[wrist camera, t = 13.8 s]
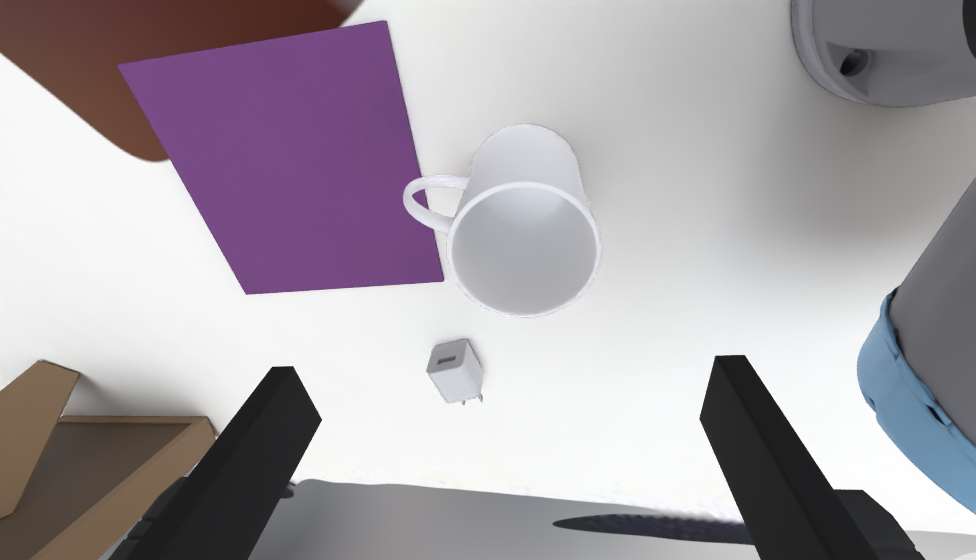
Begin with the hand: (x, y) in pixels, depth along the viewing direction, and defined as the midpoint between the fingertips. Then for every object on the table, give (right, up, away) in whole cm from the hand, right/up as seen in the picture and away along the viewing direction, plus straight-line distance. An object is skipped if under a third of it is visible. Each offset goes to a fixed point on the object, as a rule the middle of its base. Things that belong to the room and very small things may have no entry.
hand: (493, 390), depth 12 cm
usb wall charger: (-3, -5, +29) cm, 30 cm away
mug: (+1, +12, +18) cm, 21 cm away
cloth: (-15, +11, +19) cm, 27 cm away
